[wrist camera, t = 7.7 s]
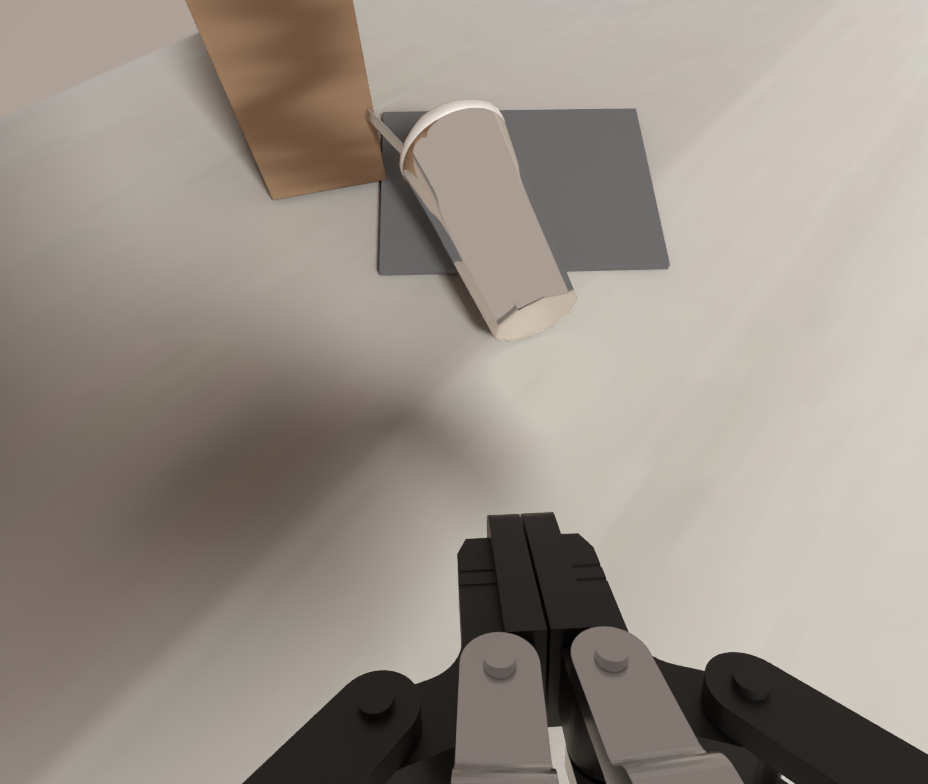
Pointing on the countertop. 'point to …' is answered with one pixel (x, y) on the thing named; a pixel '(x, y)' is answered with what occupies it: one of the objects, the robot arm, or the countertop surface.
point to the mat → (546, 193)
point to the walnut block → (295, 89)
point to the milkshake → (485, 215)
